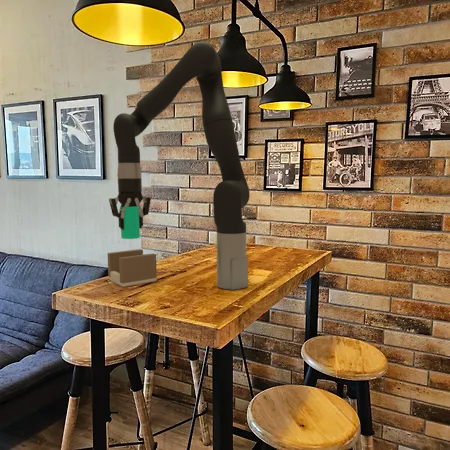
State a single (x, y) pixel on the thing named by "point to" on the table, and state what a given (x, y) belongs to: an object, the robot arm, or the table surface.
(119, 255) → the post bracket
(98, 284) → the table surface
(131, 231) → the candle
